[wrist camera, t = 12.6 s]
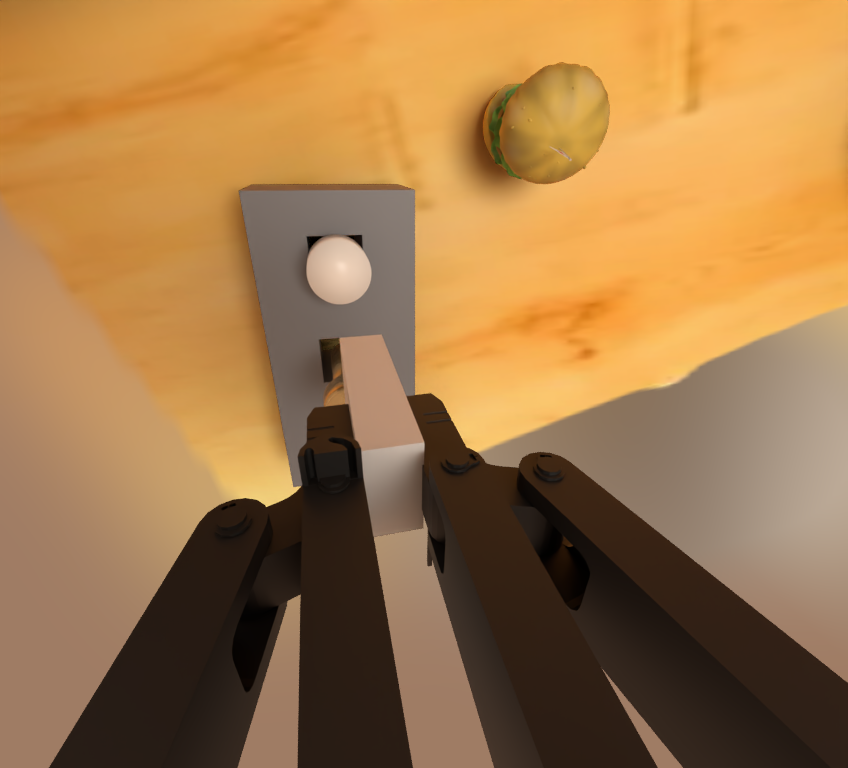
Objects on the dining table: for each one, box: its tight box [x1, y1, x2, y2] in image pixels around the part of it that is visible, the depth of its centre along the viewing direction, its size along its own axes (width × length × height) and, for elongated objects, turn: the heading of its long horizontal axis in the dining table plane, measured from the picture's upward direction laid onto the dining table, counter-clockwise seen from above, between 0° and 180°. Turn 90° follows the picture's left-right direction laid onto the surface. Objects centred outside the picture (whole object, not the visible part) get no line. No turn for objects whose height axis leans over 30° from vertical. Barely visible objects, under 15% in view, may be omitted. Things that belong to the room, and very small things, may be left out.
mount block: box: [239, 184, 415, 487], centre depth 38 cm, size 12×26×7 cm, turn 179°
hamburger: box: [483, 62, 610, 184], centre depth 31 cm, size 8×7×12 cm
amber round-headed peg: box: [323, 344, 345, 406], centre depth 32 cm, size 4×4×10 cm
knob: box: [306, 234, 371, 304], centre depth 33 cm, size 4×4×10 cm
